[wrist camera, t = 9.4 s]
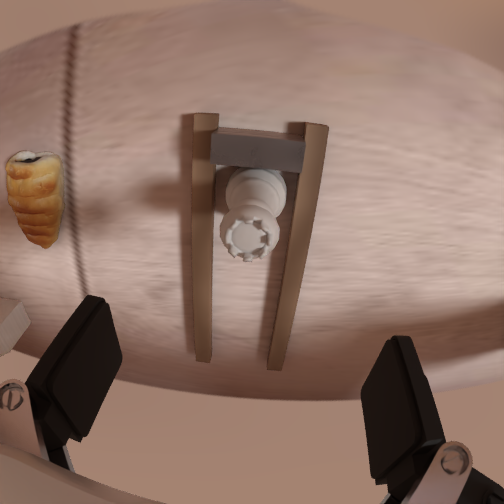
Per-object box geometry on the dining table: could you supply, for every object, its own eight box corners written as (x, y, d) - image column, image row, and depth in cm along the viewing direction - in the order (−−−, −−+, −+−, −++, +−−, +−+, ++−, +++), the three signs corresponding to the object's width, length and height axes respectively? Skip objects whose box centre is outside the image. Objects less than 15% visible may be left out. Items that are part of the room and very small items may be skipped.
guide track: (326, 125, 20) (329, 127, 19) (281, 362, 32) (281, 370, 31) (198, 112, 20) (194, 114, 19) (198, 352, 32) (195, 360, 31)
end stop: (302, 135, 21) (306, 142, 18) (298, 162, 22) (301, 173, 19) (219, 127, 21) (211, 133, 18) (218, 154, 22) (209, 163, 19)
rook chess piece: (247, 227, 25) (236, 289, 18) (215, 181, 23) (188, 227, 16) (297, 200, 23) (306, 255, 16) (266, 150, 22) (262, 183, 15)
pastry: (75, 244, 27) (55, 264, 24) (28, 234, 27) (7, 252, 24) (67, 148, 22) (39, 161, 19) (17, 148, 22) (-10, 160, 19)
